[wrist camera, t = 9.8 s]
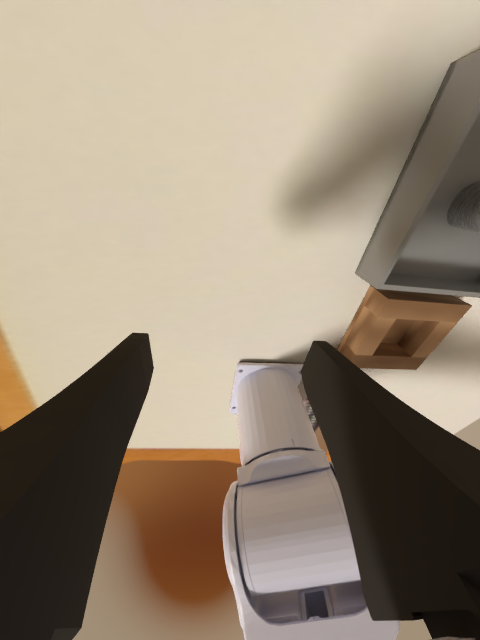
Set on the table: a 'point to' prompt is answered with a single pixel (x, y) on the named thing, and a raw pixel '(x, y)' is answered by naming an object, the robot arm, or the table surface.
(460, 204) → the pin
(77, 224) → the table surface
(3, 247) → the table surface
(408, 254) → the tray
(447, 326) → the pin block
